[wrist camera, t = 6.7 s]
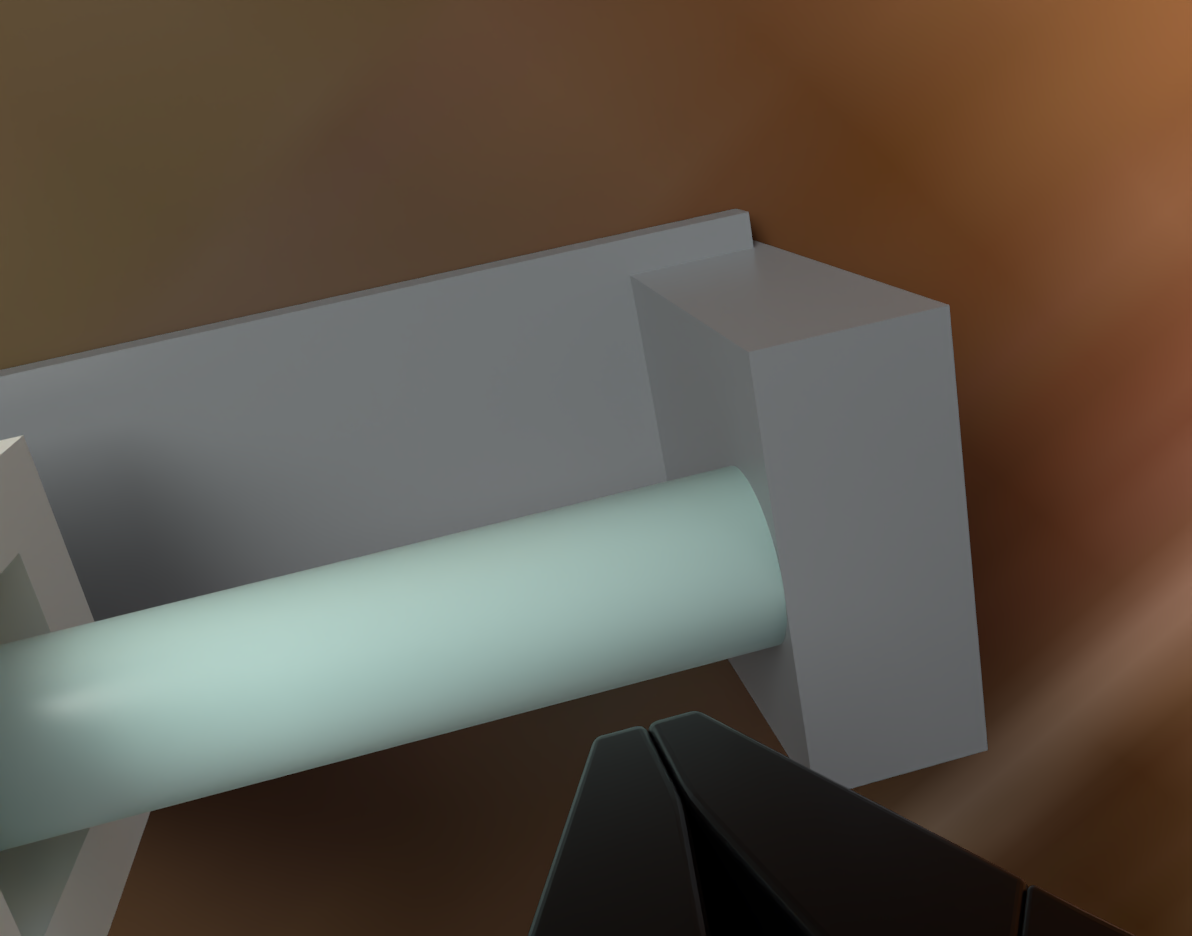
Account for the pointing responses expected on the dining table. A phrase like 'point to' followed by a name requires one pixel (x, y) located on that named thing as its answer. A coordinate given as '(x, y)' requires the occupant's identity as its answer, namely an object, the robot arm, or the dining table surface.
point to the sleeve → (22, 610)
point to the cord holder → (497, 521)
